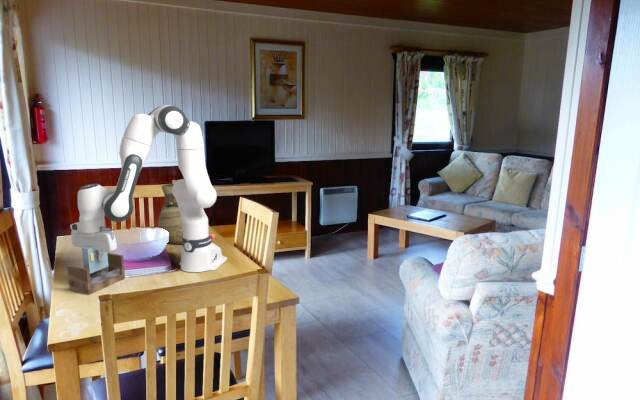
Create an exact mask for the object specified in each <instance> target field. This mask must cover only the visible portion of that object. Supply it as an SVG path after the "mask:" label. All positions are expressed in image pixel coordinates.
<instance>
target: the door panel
mask: <svg viewBox="0 0 640 400" xmlns="http://www.w3.org/2000/svg"><path fill="white" fill-rule="evenodd" d="M81 253H82V264H83V268H87V269H89V272H90V273H93V272H95V271H98V270H100V269H103V268H105V267H108V256H107V253H108V252H105V253H104V255H103V260H101V261H98V260H97V256H98V255H99V253H98V250H94V247H91V246H86V247H83V248H82V247H81Z"/></svg>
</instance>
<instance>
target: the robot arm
mask: <svg viewBox="0 0 640 400" xmlns="http://www.w3.org/2000/svg"><path fill="white" fill-rule="evenodd" d="M159 133H165V134H172V135H174V137H175V140H176V153H177V164H178V165H177V166H178V169H179V170H180V172H181V175H182V177H183V178H181V179H178V180H176V181H175V182H174V183H173V184H174V185H173V187H172V193H173V196H174V197H175V199H176V201H177V204H178V208H179V211H180V215H181V219H182V230H183V237H182V244H181V246H182V247H181V250H180V251H181V253H180V254H181V255H180V257H181V258H180V261H179V266H180V270H182V272H183V271H184V272H186V273H202V272H207V271H216V270H217V269H218V268H219V267H220V266H222V265H223V264H224V263H225V262H226V261H228V257H227V256H224V255H223V253H222V252H223V251H222V248H221V247H220V246H218V245H217V244H216V243H214V242H212V240H214V239H215V238H216V234H214V233H213V234H212V233H210V231H209V230H210V229H209V218H208V216H207V215H208V214H206V212H205V210H204V209H207V208H211V207H213V206H214V204H215V203H216V202H217V194H218V193H217V190H216V189H215V188H214V186H213V185H212V183H211V180H210V176H209V174H208V170H207V166H206V155H205V143H204V137H203V132H202V130H201V126H200V124H198V123H197V122H195V121H191V120H189V118H187V115H185V113H184V111H183V110H182V109H181V108H179V107H178V106H175V105H170V104H164V105H160V106H157V107H156V108H155V107H154V109H153V110H152V111H150V112H149V113H148V114H146V113H136V114H134V115H133V116H132V117H131V119H130V120H129V122H128V124H127V125H126V128H125V130H124V133H123V136H122V137H121V141H120V146H119V153H118V154H119V158H120V162H121V168H120V169H121V170H120V175H119V177H118V181H117V184H116V188H115V189H110V188H108V187H104V186H102V185H100V184H99V183H91V184H90V183H89V184H85V185H83V186H81V187H80V188H79V190H78V191H77V209H78V211H79V218H78V219H79V220H78V221H77V222H74V223H71V224H70V226H69V227H70V230H71V233H70V235H71V243H72V245H73V247H77V248H81V249H82V248H83V247H86V246H91V247H94V250H98V253H99V255H98V256H97V260H98V261H101V260H103V255H104V253H105V252H107V253H112V252H114V251H116V250H117V249H118V244H117V239H116V236H115V232H114V231H113V230H112V229H111V228H109V227H106V218H107V219H108V220H110V221H112V222H114V223H121V222H124V221H127V220H128V219H129V218H130V217H131V216H132V214H133V212H134V204H133V203H134V202H133V197H134V192H135V188H136V186H137V182H138V180H139V176H140V173H141V171H142V168H143V166H144V164H145V162H146V160H147V158H148V156H149V154H150V151H151V149H152V145H153V142H154V139H155V137H156V136H157V135H158V134H159ZM105 217H106V218H105Z"/></svg>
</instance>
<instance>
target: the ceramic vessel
mask: <svg viewBox="0 0 640 400" xmlns="http://www.w3.org/2000/svg"><path fill="white" fill-rule="evenodd" d="M173 185H174V183H165V184H163V185H161V190H162V192H163V194H164V203H165V204H164V205H163V206H162V207H161V208H160V213H159V216H158V229H159V228H163V229H165V230H167V231H168V232H169V242H168V243H167V244H170V245H182V237H183V230H182V219H181V215H180V211H179V208H178V204H177V201H176V199H175V197H174V196H173V193H172V187H173Z"/></svg>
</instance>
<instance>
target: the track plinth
mask: <svg viewBox="0 0 640 400" xmlns="http://www.w3.org/2000/svg"><path fill="white" fill-rule="evenodd" d="M107 256H108V267H105V268H103V269H100V270H98V271H95V272H93V273H90V272H89V269H87V268H84V267H82V266H76V265H71V264H70V265H67V266H66V268H67V276H68V277H67V279H68V286H69V291H70V292H74V293H79V294H83V295H87V296H90V295H92V294H94V293H97V292H99V291H101V290H102V289H105V288H107V287H110V286H112V285H114V284H117V283H118V282H121V281H123V280H125V279H126V273H125V262H124V261H125V260H124V255H122V254H117V253H112V252H107ZM124 278H125V279H124ZM120 280H121V281H120ZM111 284H112V285H111ZM109 285H110V286H109Z"/></svg>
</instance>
